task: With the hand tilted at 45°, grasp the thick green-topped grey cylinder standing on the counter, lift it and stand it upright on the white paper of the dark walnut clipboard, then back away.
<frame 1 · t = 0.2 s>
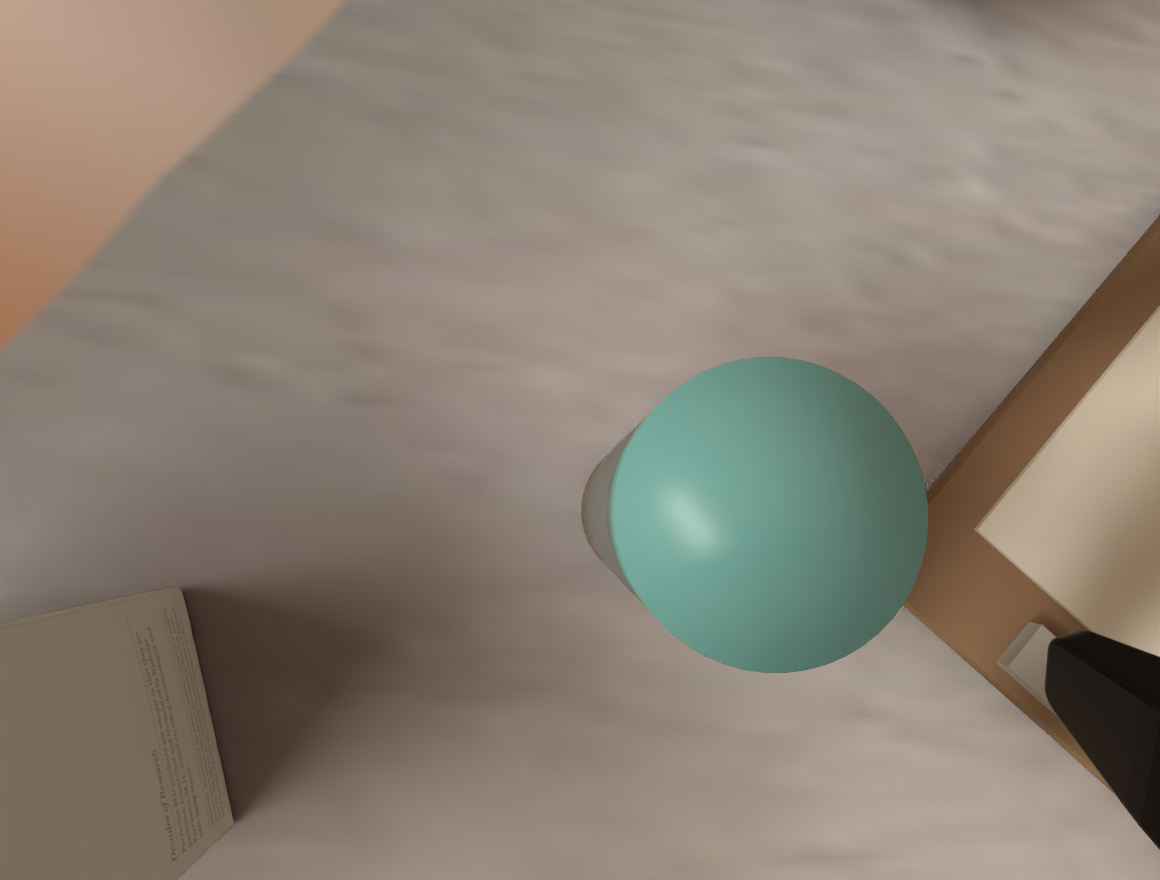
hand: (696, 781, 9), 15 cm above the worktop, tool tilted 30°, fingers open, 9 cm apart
supplement box: (92, 733, 23), on the worktop
green-topped grey cylinder: (652, 510, 24), on the worktop
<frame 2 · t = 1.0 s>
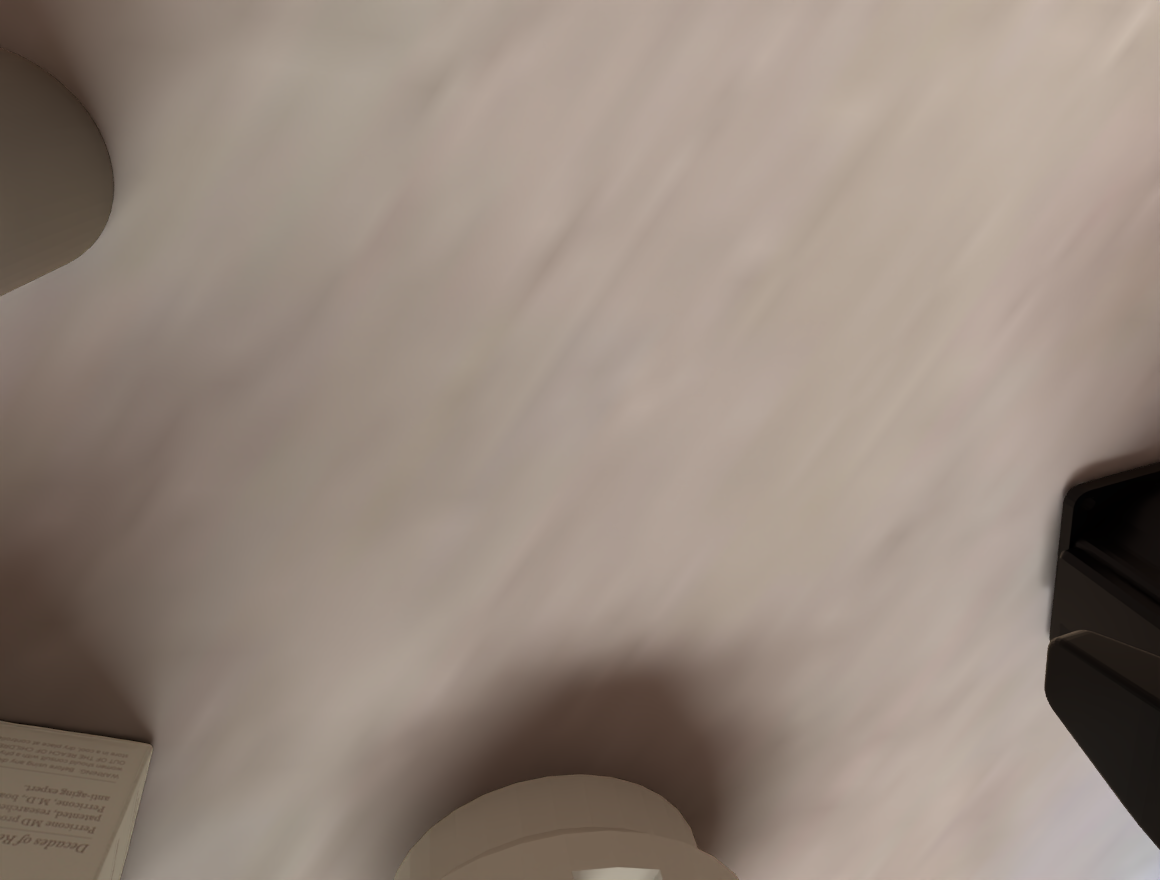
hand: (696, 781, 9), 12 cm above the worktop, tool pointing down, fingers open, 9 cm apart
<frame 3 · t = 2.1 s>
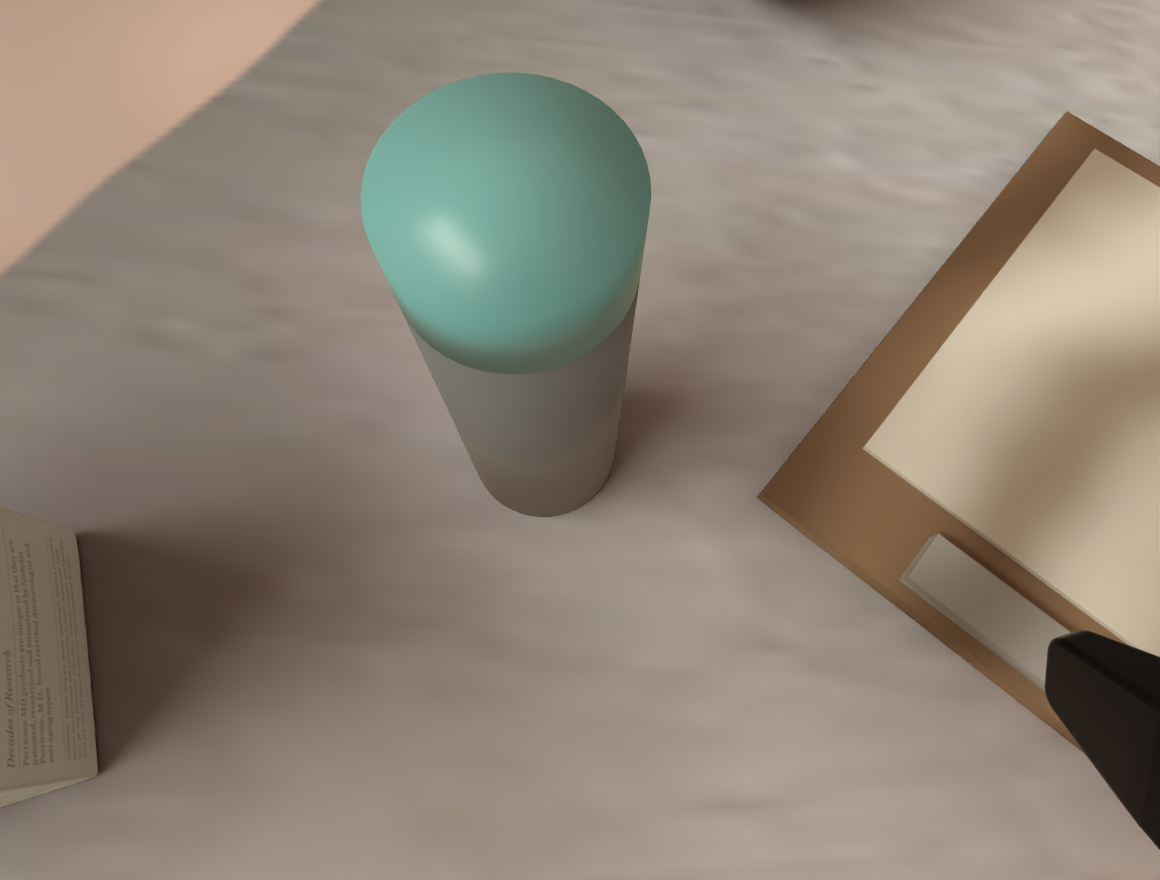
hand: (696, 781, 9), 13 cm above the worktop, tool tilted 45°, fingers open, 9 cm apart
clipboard: (1106, 425, 24), on the worktop
green-topped grey cylinder: (544, 447, 24), on the worktop
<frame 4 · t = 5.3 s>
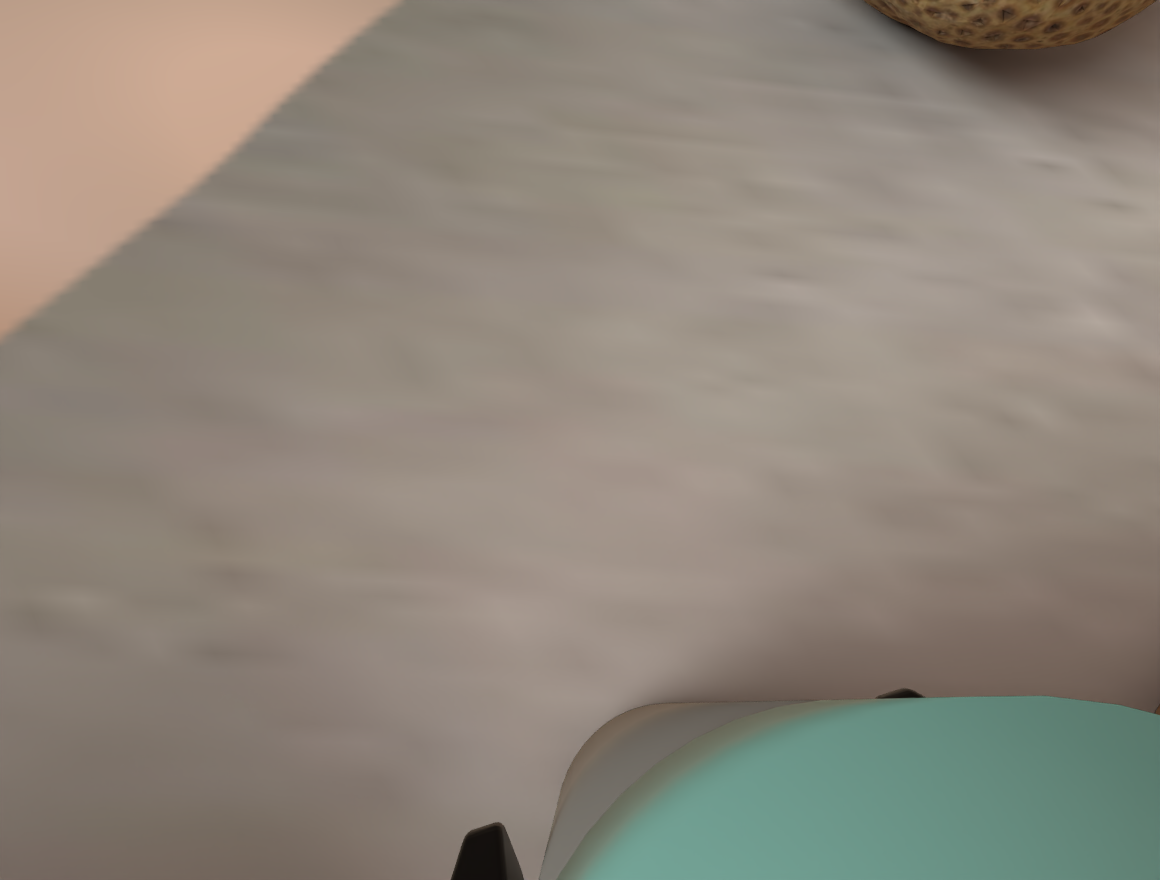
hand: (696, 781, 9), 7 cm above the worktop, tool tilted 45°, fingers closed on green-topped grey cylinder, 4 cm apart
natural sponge: (921, 30, 21), on the worktop
green-topped grey cylinder: (671, 825, 15), on the worktop, touching gripper
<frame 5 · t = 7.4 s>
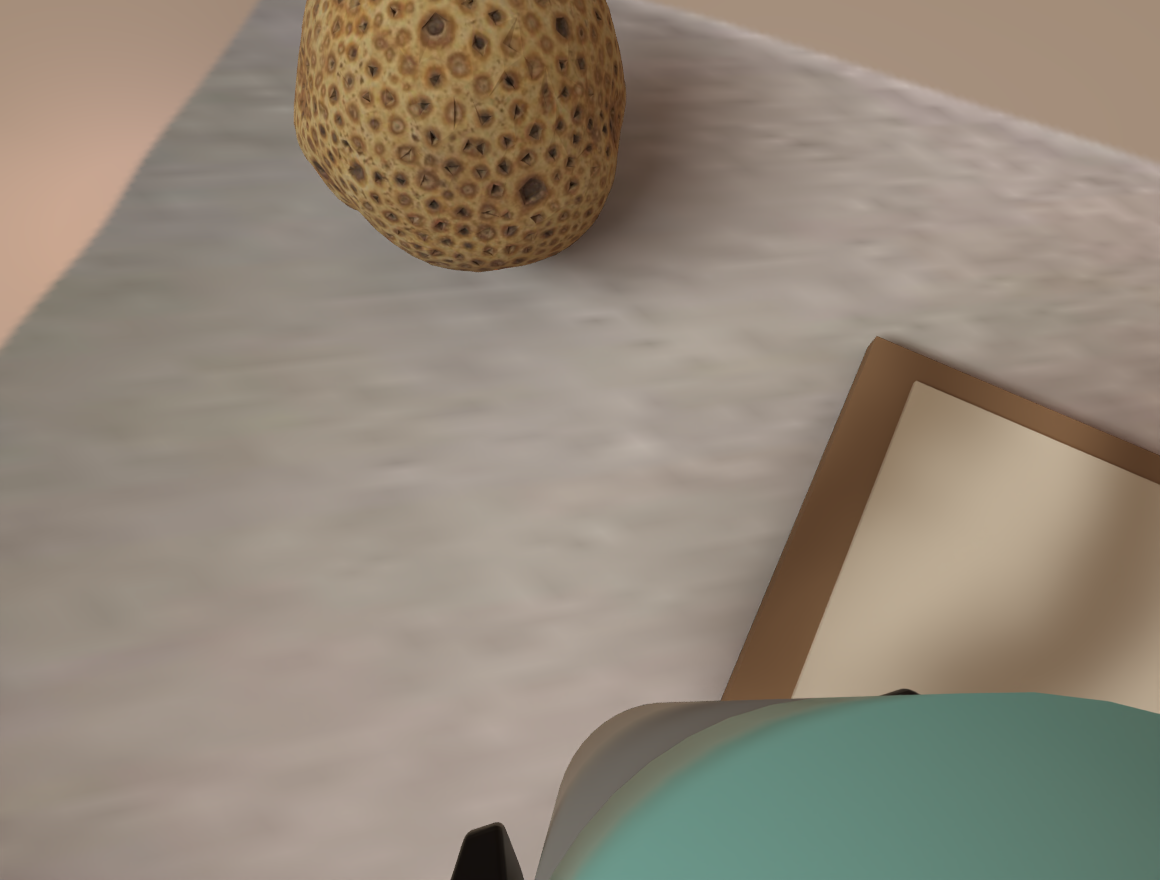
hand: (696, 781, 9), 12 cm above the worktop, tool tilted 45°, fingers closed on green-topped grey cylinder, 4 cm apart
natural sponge: (490, 219, 26), on the worktop
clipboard: (1001, 725, 21), on the worktop
green-topped grey cylinder: (670, 824, 15), point 6 cm above the worktop, touching gripper
when the fingers open (9 cm above the worktop, at t = 9.5 s): green-topped grey cylinder drops 1 cm, resting on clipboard.
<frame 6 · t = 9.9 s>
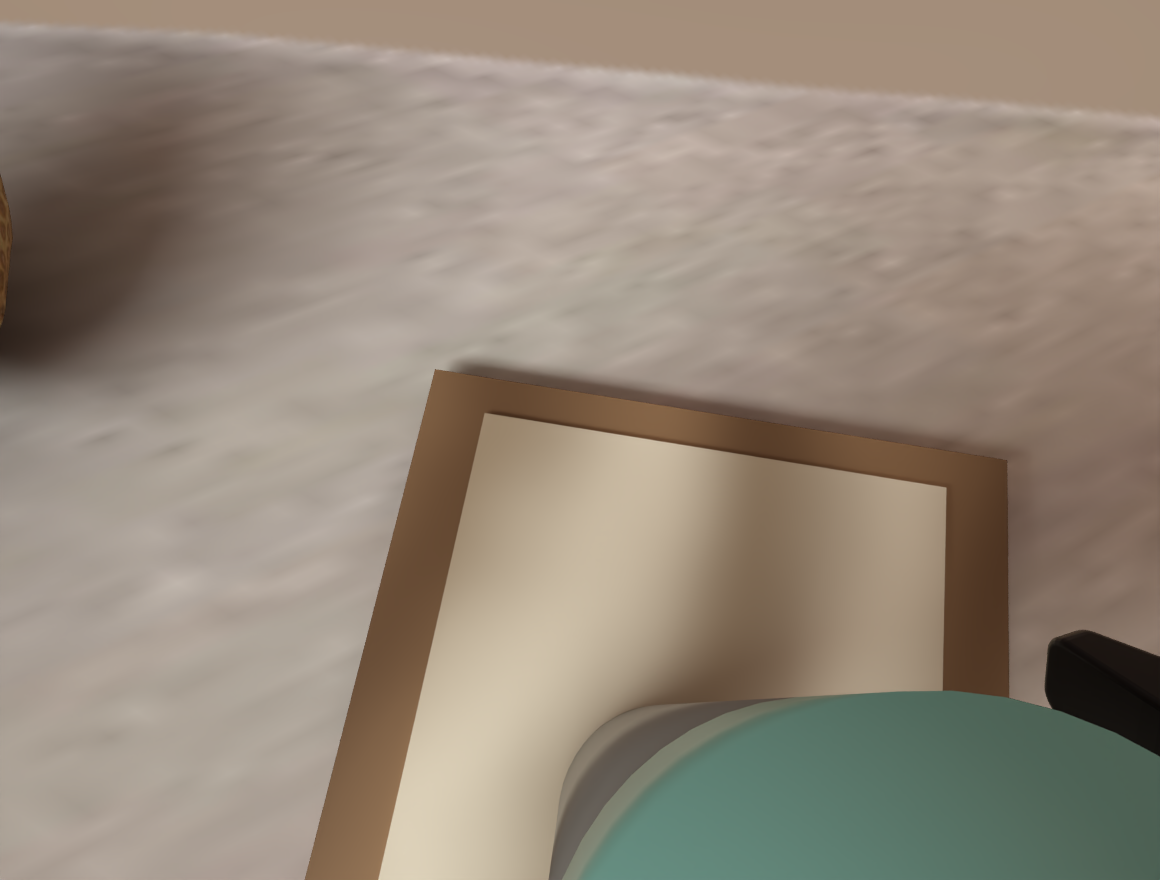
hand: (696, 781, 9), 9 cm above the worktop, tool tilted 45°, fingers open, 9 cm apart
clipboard: (661, 810, 17), on the worktop
green-topped grey cylinder: (665, 819, 16), point 1 cm above the worktop, touching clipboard
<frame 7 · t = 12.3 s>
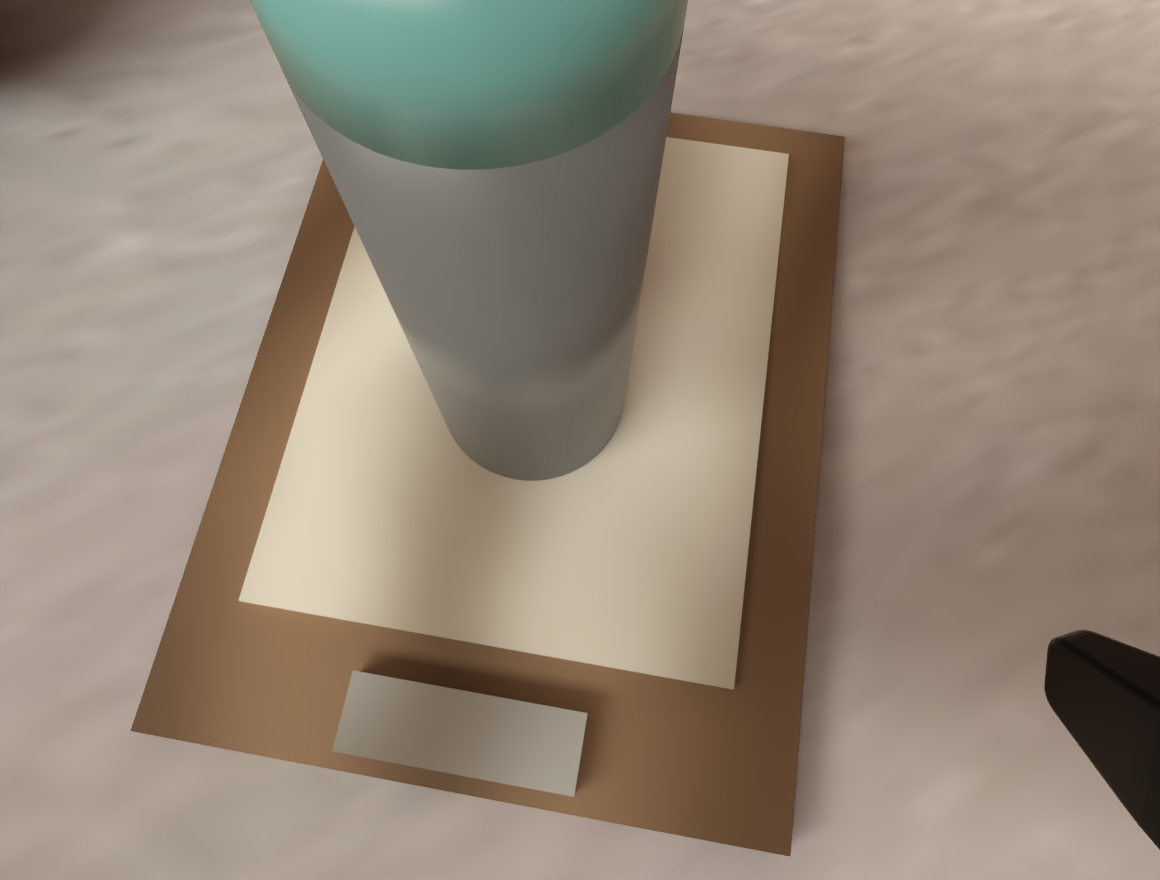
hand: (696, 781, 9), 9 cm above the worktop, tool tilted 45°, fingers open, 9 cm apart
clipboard: (536, 406, 20), on the worktop
green-topped grey cylinder: (533, 393, 19), point 1 cm above the worktop, touching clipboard
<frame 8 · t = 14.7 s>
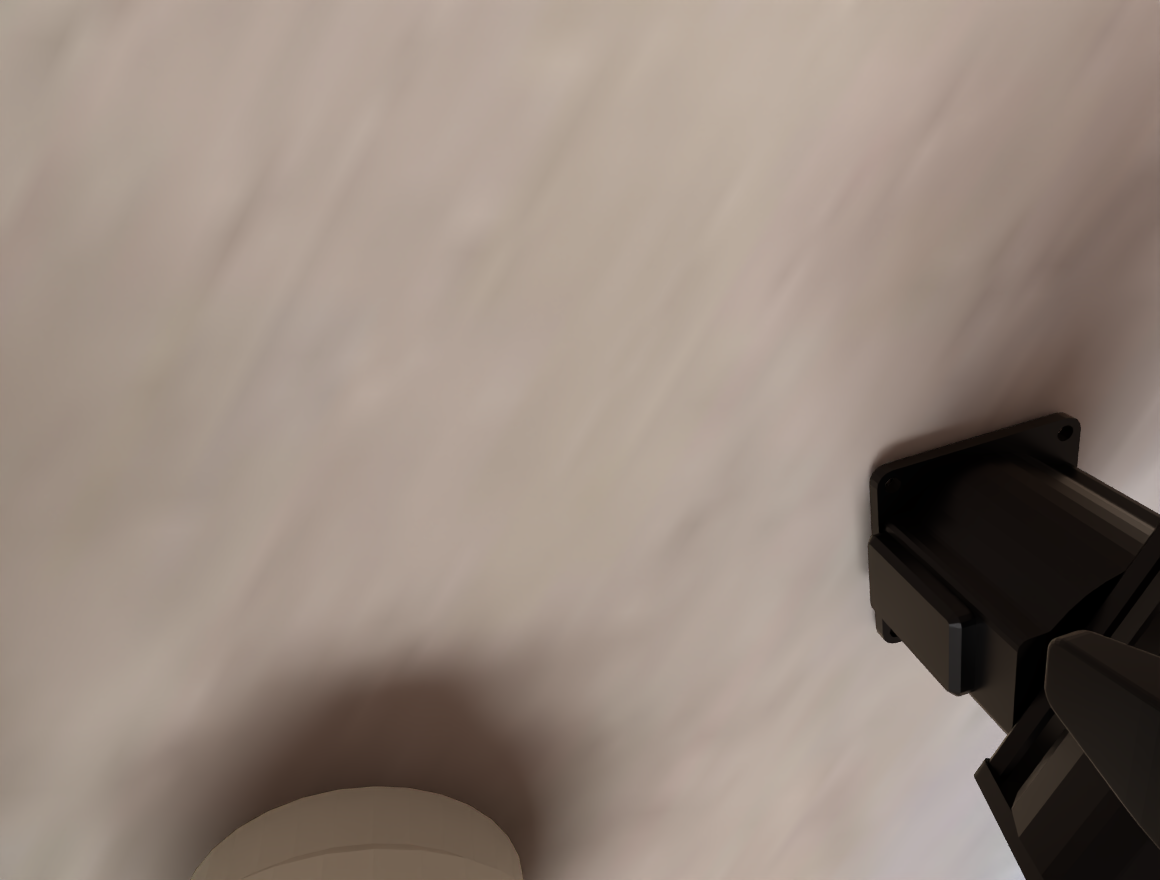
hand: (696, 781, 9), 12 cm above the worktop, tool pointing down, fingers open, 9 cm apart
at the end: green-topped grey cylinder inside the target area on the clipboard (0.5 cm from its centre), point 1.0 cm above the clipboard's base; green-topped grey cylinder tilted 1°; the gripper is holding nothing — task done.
